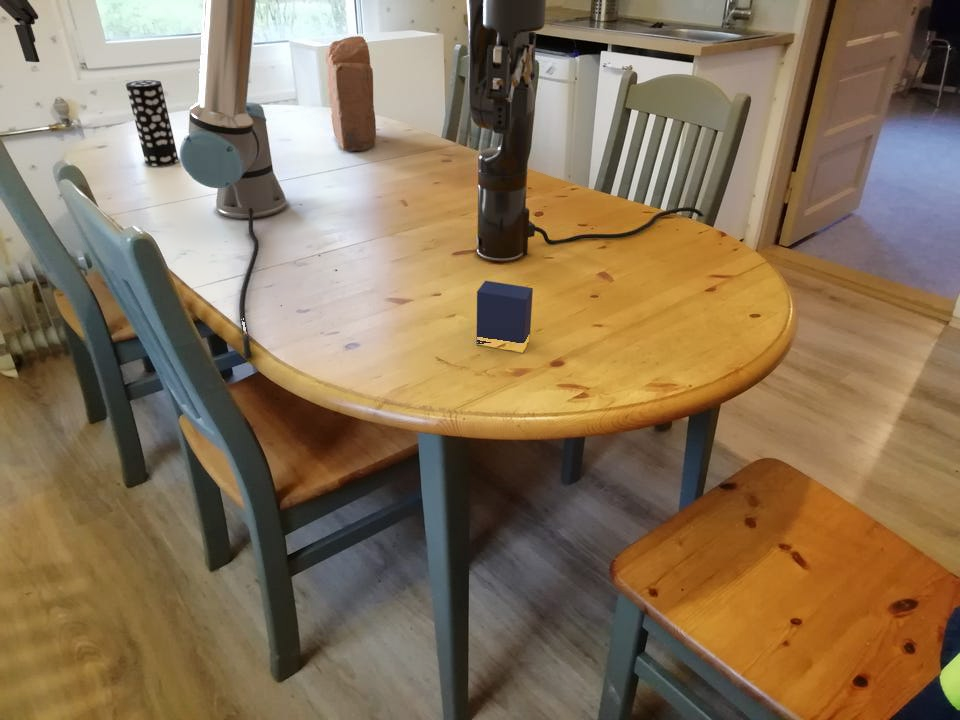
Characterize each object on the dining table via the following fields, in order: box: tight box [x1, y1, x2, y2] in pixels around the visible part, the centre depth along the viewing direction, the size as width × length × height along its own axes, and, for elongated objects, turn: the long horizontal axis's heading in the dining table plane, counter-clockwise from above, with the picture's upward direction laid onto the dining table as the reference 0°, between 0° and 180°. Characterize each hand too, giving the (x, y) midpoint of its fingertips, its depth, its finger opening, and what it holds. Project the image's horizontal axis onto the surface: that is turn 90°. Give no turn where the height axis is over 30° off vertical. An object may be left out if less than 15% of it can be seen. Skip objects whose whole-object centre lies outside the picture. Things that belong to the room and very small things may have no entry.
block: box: [475, 280, 534, 344], centre depth 106 cm, size 4×8×10 cm, turn 72°
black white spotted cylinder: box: [125, 79, 179, 167], centre depth 181 cm, size 8×8×20 cm
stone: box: [325, 35, 377, 152], centre depth 197 cm, size 22×11×28 cm, turn 18°
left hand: (3, 67), depth 130 cm, fingers open, 13 cm apart
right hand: (510, 124), depth 90 cm, fingers open, 8 cm apart
